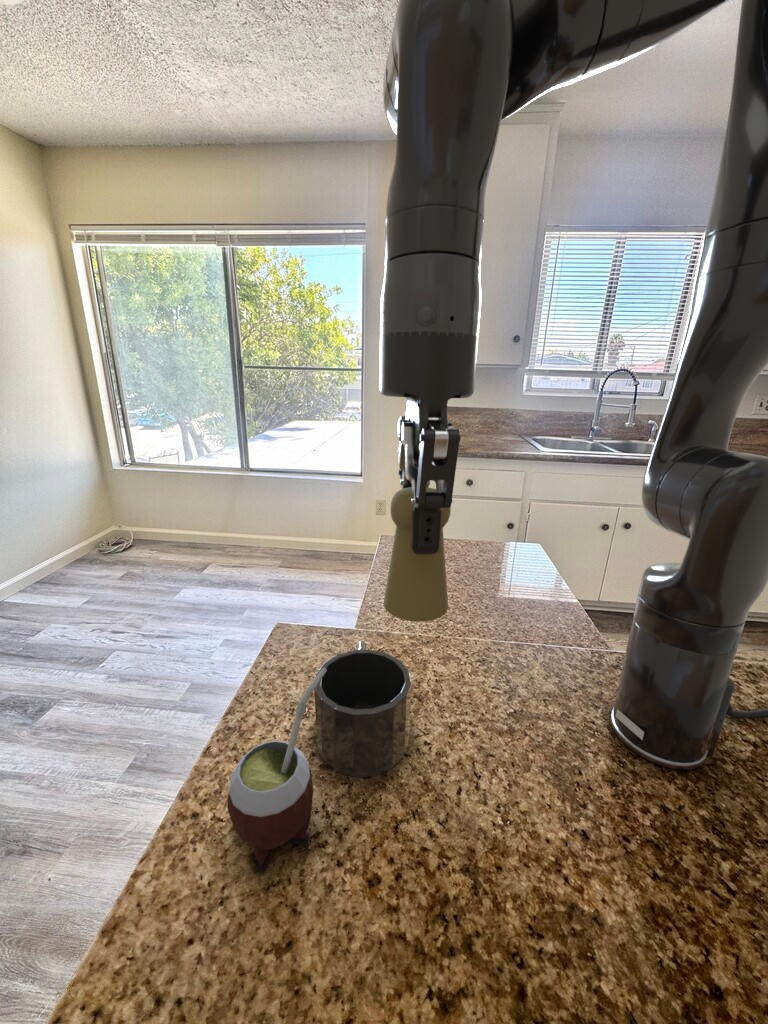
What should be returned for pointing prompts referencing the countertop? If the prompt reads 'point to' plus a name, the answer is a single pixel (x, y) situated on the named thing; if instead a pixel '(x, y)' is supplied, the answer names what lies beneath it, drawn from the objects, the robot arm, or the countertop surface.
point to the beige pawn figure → (415, 568)
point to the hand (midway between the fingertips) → (418, 538)
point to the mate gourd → (273, 792)
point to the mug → (363, 712)
